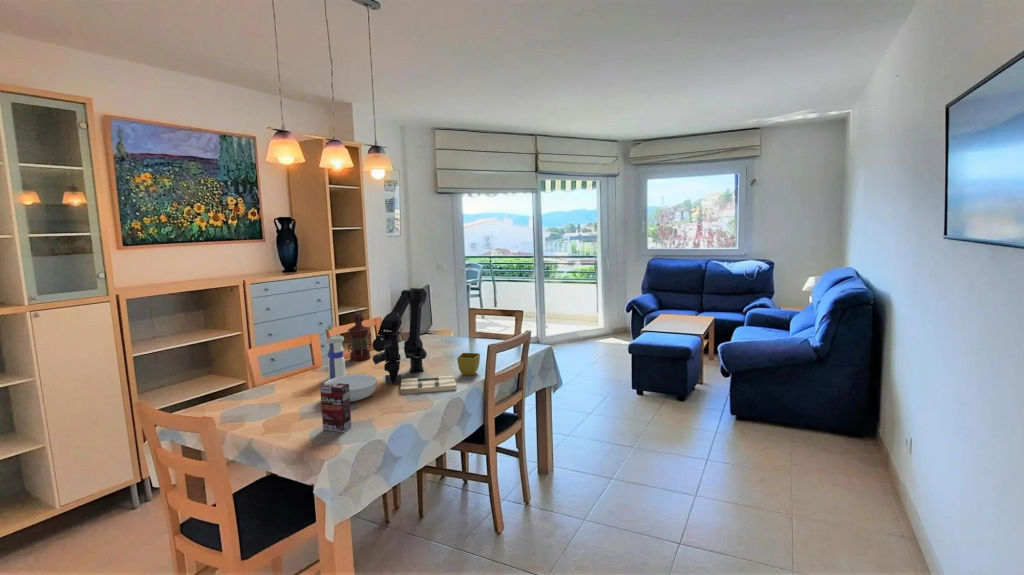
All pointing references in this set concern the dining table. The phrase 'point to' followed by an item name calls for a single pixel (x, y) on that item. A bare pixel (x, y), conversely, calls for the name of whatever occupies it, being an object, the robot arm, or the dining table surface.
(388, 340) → the robot arm
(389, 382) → the dark grey chamfered block
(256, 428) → the dining table surface
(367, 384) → the serving bowl
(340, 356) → the water bottle
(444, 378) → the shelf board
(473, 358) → the flower pot
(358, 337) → the lantern
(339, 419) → the supplement box
